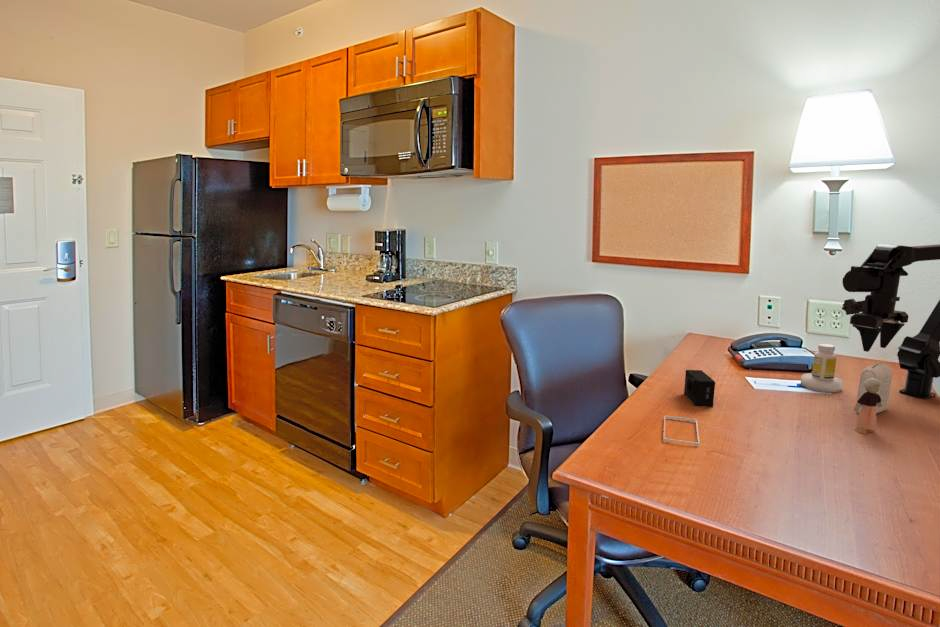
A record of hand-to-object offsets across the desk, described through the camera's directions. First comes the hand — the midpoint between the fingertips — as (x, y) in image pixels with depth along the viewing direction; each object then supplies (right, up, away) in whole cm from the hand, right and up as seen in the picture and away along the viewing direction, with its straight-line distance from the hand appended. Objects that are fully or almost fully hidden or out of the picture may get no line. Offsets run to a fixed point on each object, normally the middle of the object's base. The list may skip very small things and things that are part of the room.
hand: (874, 349), depth 152 cm
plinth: (-8, -11, +10) cm, 17 cm away
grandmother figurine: (-18, -18, -22) cm, 33 cm away
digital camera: (-49, -14, -2) cm, 51 cm away
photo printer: (-7, -15, -9) cm, 19 cm away
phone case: (-61, -18, -24) cm, 68 cm away
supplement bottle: (-8, -9, +9) cm, 15 cm away
